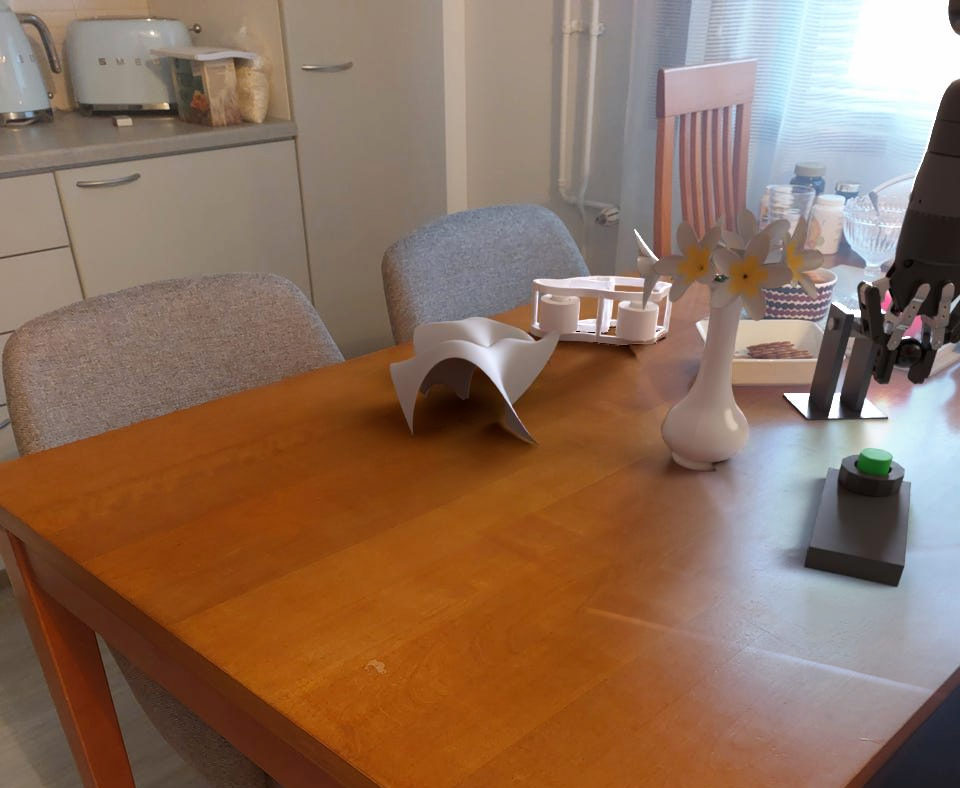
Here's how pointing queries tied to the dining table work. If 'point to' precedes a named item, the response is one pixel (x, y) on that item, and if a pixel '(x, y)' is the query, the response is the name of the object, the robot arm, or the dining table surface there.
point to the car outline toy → (598, 310)
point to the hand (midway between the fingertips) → (897, 381)
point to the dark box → (861, 524)
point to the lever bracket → (857, 379)
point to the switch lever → (907, 348)
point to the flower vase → (724, 321)
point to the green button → (874, 461)
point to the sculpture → (472, 362)
